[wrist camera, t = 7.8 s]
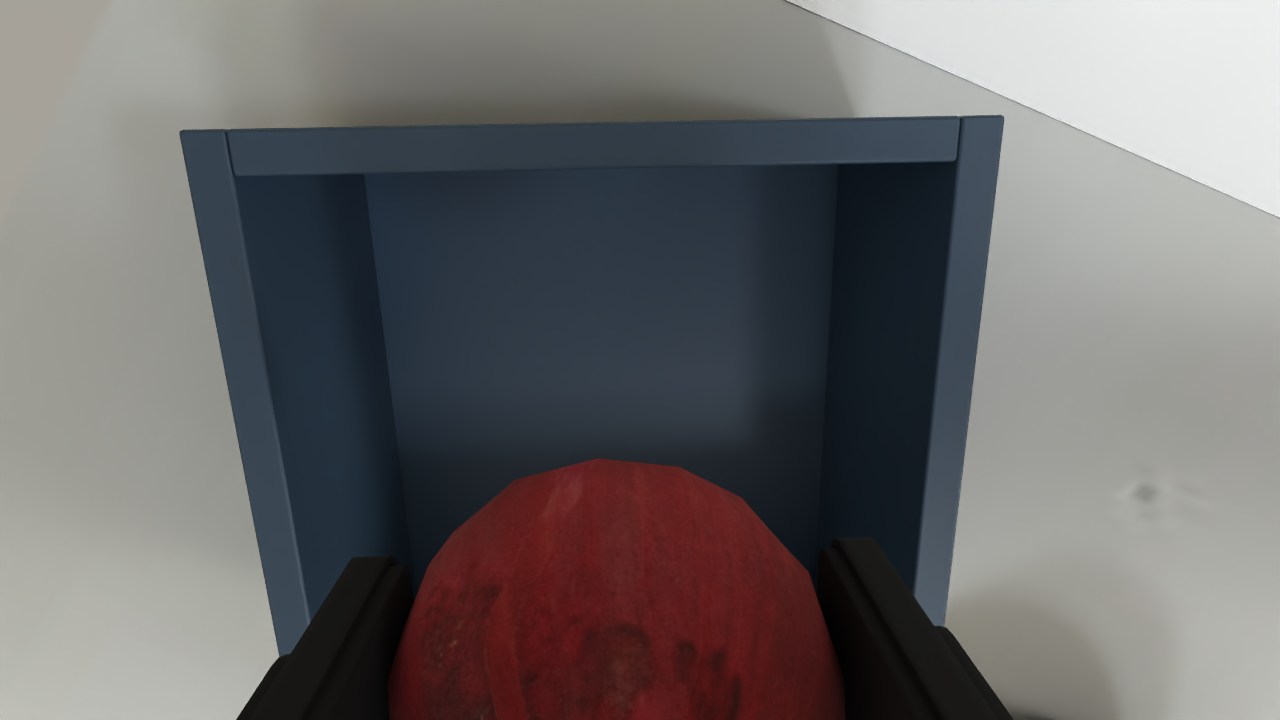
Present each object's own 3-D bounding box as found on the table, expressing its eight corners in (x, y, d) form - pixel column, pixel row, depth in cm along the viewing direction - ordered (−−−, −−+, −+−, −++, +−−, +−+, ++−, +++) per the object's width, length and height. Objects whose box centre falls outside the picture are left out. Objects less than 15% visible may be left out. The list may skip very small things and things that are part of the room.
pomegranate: (389, 531, 13) (66, 1088, 5) (622, 320, 12) (649, 619, 4) (608, 718, 14) (608, 1380, 7) (832, 541, 13) (1138, 1069, 6)
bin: (861, 129, 20) (1005, 115, 13) (832, 579, 24) (929, 764, 17) (337, 138, 20) (177, 129, 12) (398, 597, 24) (304, 796, 16)
